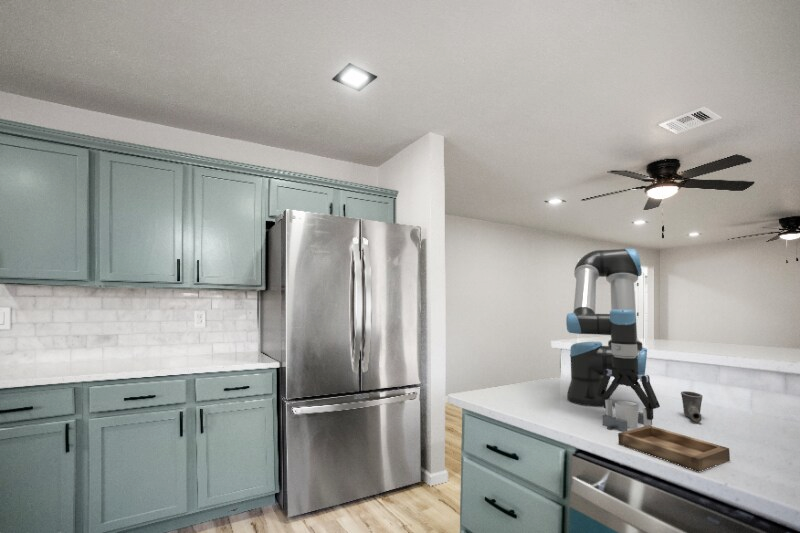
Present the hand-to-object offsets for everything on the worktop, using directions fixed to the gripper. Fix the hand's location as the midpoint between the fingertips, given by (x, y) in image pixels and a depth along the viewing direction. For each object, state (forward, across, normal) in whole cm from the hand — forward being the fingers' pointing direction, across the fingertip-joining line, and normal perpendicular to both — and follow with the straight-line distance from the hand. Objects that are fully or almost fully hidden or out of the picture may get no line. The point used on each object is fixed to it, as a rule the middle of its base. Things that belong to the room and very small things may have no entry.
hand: (627, 424), depth 126 cm
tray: (0, +18, -12) cm, 22 cm away
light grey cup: (0, 0, 0) cm, 0 cm away
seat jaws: (0, 0, 0) cm, 0 cm away
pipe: (0, +8, +26) cm, 27 cm away
